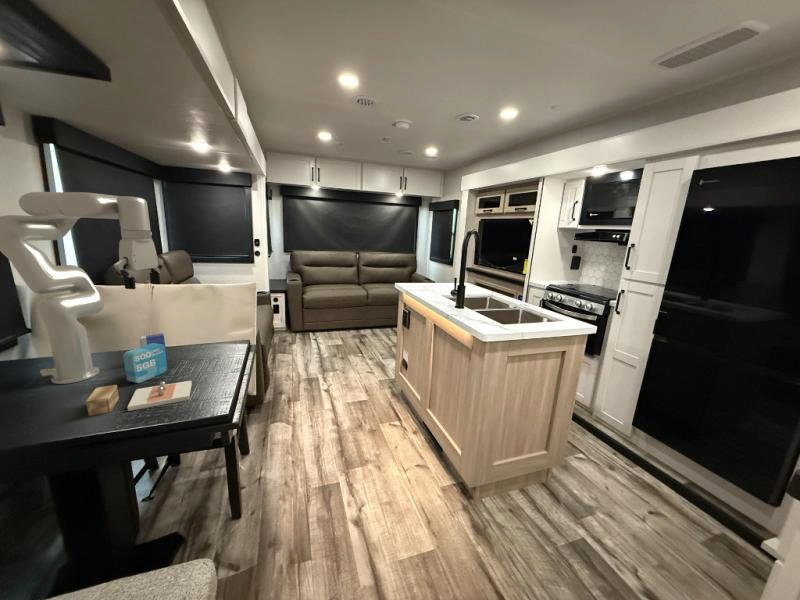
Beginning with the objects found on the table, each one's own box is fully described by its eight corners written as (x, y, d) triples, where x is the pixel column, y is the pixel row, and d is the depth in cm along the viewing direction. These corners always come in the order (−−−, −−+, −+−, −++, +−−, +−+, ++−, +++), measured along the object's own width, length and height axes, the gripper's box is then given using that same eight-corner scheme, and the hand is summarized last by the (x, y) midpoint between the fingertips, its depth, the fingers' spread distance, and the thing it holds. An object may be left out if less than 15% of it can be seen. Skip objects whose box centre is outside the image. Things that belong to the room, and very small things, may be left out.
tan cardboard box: (88, 416, 93) (86, 401, 92) (98, 401, 101) (96, 387, 100) (110, 412, 96) (108, 397, 95) (118, 398, 103) (116, 384, 102)
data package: (136, 384, 112) (131, 354, 109) (126, 382, 113) (122, 352, 110) (167, 371, 123) (164, 343, 121) (159, 369, 124) (155, 341, 122)
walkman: (166, 358, 134) (163, 332, 132) (166, 360, 132) (163, 334, 130) (143, 362, 129) (139, 335, 127) (143, 364, 127) (139, 337, 125)
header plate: (128, 411, 97) (127, 406, 96) (137, 393, 107) (136, 389, 106) (188, 399, 105) (188, 395, 104) (191, 384, 115) (191, 380, 114)
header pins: (158, 396, 103) (157, 388, 102) (160, 389, 107) (159, 381, 107) (163, 395, 103) (162, 387, 103) (165, 388, 108) (164, 380, 107)
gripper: (149, 234, 110) (155, 281, 113) (99, 235, 93) (108, 290, 96) (168, 236, 109) (174, 283, 113) (122, 236, 92) (130, 292, 96)
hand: (143, 286), depth 105 cm, fingers open, 9 cm apart
